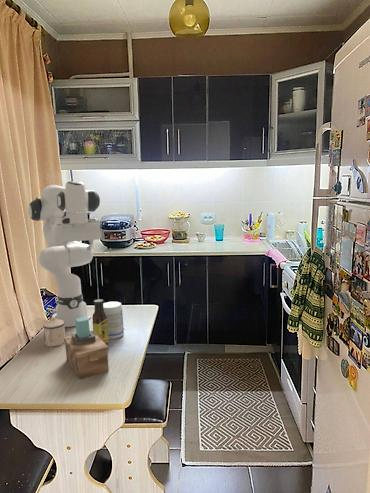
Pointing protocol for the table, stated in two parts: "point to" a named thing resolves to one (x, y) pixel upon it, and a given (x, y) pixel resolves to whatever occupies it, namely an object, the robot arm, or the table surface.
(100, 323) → the sauce bottle
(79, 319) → the teal rectangular block
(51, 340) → the teacup with lid
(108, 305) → the supplement tub
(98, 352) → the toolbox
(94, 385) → the table surface
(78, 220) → the robot arm
